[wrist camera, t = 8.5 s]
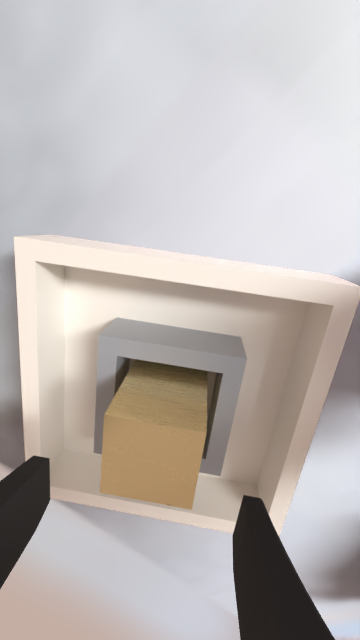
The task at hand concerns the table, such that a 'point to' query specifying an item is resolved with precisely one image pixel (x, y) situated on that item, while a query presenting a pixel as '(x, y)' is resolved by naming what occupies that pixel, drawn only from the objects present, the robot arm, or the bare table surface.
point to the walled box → (177, 364)
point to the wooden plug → (155, 434)
